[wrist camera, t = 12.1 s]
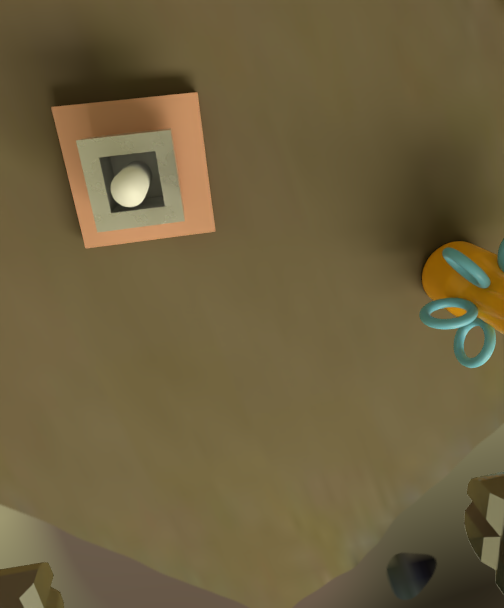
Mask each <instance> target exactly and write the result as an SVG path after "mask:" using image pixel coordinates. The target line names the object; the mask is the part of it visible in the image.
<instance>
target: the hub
mask: <svg viewBox="0 0 504 608" xmlns="http://www.w3.org/2000/svg"><path fill="white" fill-rule="evenodd" d="M76 143H77V148H78V152H79V156H80V160H81V165H82V169H83V173H84V177H85V182H86V186H87V190H88V195H89V199H90V203H91V207H92V212H93V216H94V220H95V224H96V229H97V233H98V232H106V231H113V230H121V229H128V228H136V227H144V226H151V225H159V224H167V223H174V222H182V221H185V217H184V206H183V199H182V193H181V187H180V180H179V174H178V167H177V161H176V155H175V148H174V142H173V136H172V129H171V128H167V129H158V130H149V131H140V132H131V133H122V134H113V135H104V136H95V137H88V138H84V139H80V140H76ZM151 151H155V152H156V158H157V163H158V169H159V175H160V181H161V187H162V192H163V196H156V197H148V198H144V200H143V201H142V202H141V203H140V204H139V205H137V206H134V207H125V206H122V205H120V204H119V203H118V202H116V201H115V199H114V198H113V196H112V194H111V182H112V180H113V179H114V173H113V168H112V163H111V158H110V156H116V155H125V154H134V153H142V152H151Z"/></svg>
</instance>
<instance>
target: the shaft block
mask: <svg viewBox="0 0 504 608" xmlns="http://www.w3.org/2000/svg"><path fill="white" fill-rule="evenodd" d="M51 109H52V113H53V117H54V121H55V125H56V129H57V133H58V137H59V141H60V145H61V150H62V154H63V158H64V162H65V166H66V170H67V174H68V178H69V182H70V187H71V191H72V195H73V199H74V203H75V207H76V211H77V215H78V219H79V223H80V228H81V232H82V236H83V240H84V244H85V248H93V247H100V246H108V245H116V244H123V243H131V242H138V241H146V240H154V239H161V238H169V237H177V236H184V235H192V234H200V233H207V232H215V224H214V216H213V209H212V201H211V193H210V186H209V178H208V170H207V163H206V155H205V147H204V139H203V132H202V124H201V116H200V109H199V101H198V93H197V92H195V93H185V94H175V95H165V96H155V97H145V98H135V99H125V100H115V101H106V102H96V103H86V104H76V105H66V106H56V107H51ZM167 128H171V129H172V136H173V142H174V148H175V155H176V161H177V167H178V174H179V180H180V187H181V193H182V199H183V206H184V217H185V221H182V222H174V223H167V224H159V225H151V226H144V227H136V228H128V229H121V230H113V231H106V232H98V233H97V229H96V224H95V220H94V216H93V212H92V207H91V203H90V199H89V195H88V190H87V186H86V182H85V177H84V173H83V169H82V165H81V160H80V156H79V152H78V148H77V143H76V140H80V139H84V138H88V137H95V136H104V135H113V134H122V133H131V132H140V131H149V130H158V129H167ZM110 158H111V163H112V168H113V173H114V179H113V180H112V182H111V194H112V196H113V198H114V199H115V201H116V202H118V203H119V204H120V205H122V206H125V207H134V206H137V205H139V204H140V203H141V202H142V201H143V200H144V198H148V197H156V196H163V192H162V187H161V181H160V175H159V169H158V163H157V158H156V152H155V151H151V152H142V153H134V154H125V155H116V156H110Z"/></svg>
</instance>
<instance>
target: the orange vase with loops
mask: <svg viewBox="0 0 504 608" xmlns="http://www.w3.org/2000/svg"><path fill="white" fill-rule="evenodd" d="M422 284H423V288H424V290H425V292H426V294H427V295H428V296H429V297H430V298H431V299H432V300H434V301H432V302H430V303H428V304H426V305H425V306H424V307H423V308H422V309H421V311H420V319H421V321H422V322H423V323H424V324H425V325H427V326H429V327H432V328H436V329H455V328H459V329H458V330H457V332H456V335H455V339H454V353H455V356H456V358H457V360H458V361H459V362H460V363H461V364H462V365H464V366H466V367H469V368H475V367H479V366H481V365H483V364H484V363H485V362H486V361H487V360H488V359H489V358H490V356H491V355H492V353H493V350H494V348H495V343H496V334H495V330H494V328H495V329H496V330H498V331H499V332H501V333H502V334H504V239H503V241H502V242H501V245H500V247H499V250H498V255H496V254H494V253H492V252H490V251H487V250H485V249H483V248H480V247H478V246H476V245H474V244H471V243H468V242H464V241H455V242H450V243H447V244H445V245H443V246H441V247H439V248H438V249H437V250H436V251H434V252H433V253H432V254H431V256H430V257H429V258H428V260H427V262H426V263H425V265H424V268H423V272H422ZM441 308H445V309H446V310H447V311H449V312H450V313H452V314H453V315H455V316H457V318H452V319H437V318H434V317H431V316H430V314H431V313H432V312H433V311H435V310H438V309H441ZM474 326H480V327H481V328H482V329H483V331H484V335H485V341H484V346H483V348H482V350H481V352H480V353H479V354H478V355H477V356H476V357H474V358H469V357H467V356H466V354H465V352H464V339H465V336H466V334H467V333H468V331H469V330H470V329H471V328H472V327H474Z"/></svg>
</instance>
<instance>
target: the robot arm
mask: <svg viewBox="0 0 504 608" xmlns="http://www.w3.org/2000/svg"><path fill="white" fill-rule="evenodd" d="M467 495H468V496H469V498H470V499H471V500H472V502H471V504H470V505H469V506H468V507H467V509H466V510H465V515H464V525H465V529H466V533H467V537H468V540H469V542H470V544H471V546H472V548H473V550H474V552H475V553H476V555H477V556H478V558H479V559H480V561H482V562H483V563H485V564H486V565H488V566H490V567H491V568H493V569H495V570H496V581H495V582H496V584H497V585H498V587H499V588H500V590H501V591H502V593H503V594H504V472H500V473H495V474H490V475H486V476H480V477H476V478H472V479H471V480H470V481H469V483H468V486H467ZM53 576H54V575H53V572H52V570H51V568H50V566H49V563H46V562H42V563H36V564H30V565H24V566H18V567H12V568H6V569H0V608H64V602H63V599H62V596H61V594H60V592H59V591H58V590H56V589H54V588H52V587H51V583H52V580H53Z"/></svg>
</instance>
